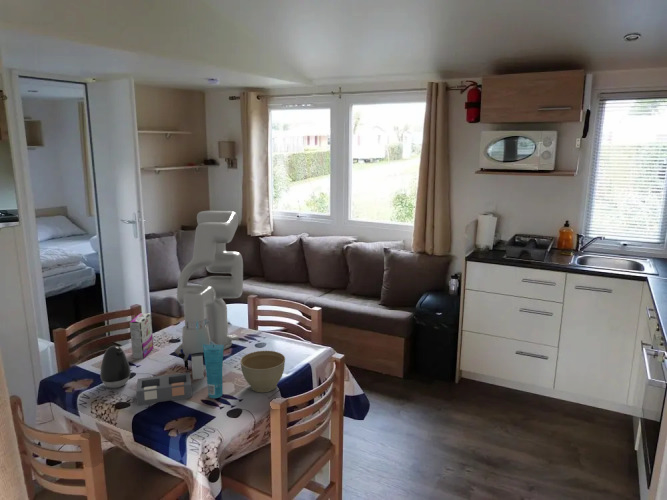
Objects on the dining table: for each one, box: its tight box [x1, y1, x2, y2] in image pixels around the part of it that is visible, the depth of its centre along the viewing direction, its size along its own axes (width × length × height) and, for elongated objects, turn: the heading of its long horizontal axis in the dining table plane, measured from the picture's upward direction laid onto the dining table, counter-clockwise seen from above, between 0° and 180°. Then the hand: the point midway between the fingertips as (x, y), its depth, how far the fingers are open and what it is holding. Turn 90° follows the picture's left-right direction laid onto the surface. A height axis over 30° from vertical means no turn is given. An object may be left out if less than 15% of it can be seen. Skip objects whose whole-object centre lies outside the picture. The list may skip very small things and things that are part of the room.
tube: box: [203, 344, 225, 399], centre depth 174 cm, size 7×5×19 cm, turn 96°
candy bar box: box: [128, 312, 155, 360], centre depth 209 cm, size 11×5×16 cm, turn 179°
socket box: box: [135, 371, 193, 406], centre depth 175 cm, size 18×10×5 cm, turn 108°
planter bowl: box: [240, 350, 286, 393], centre depth 181 cm, size 16×16×11 cm
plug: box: [190, 352, 205, 380], centre depth 189 cm, size 4×4×10 cm
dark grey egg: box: [100, 345, 131, 389], centre depth 181 cm, size 10×10×15 cm
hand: (197, 367), depth 189 cm, fingers open, 6 cm apart
